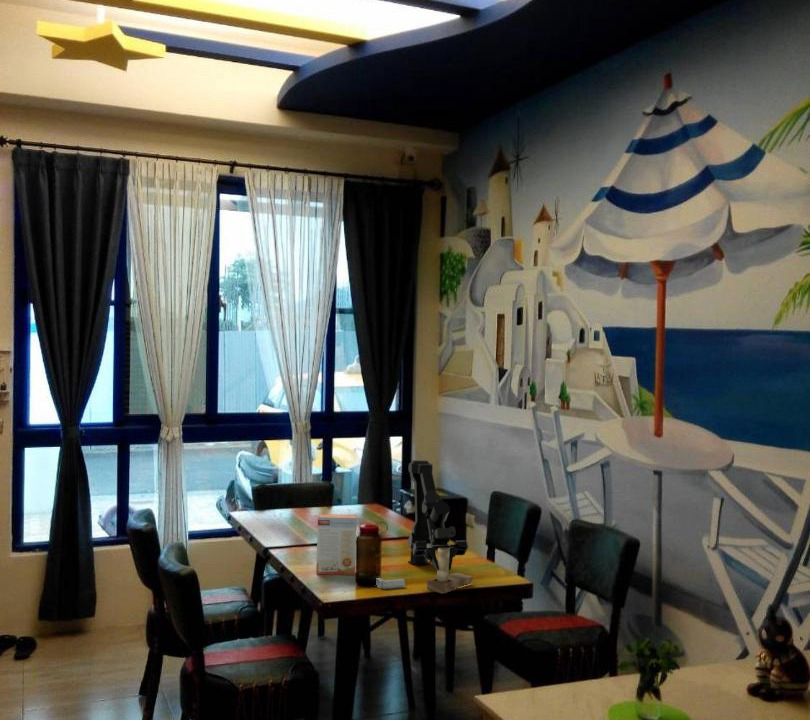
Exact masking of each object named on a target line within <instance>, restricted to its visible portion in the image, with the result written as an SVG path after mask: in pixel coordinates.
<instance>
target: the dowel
mask: <svg viewBox="0 0 810 720" xmlns="http://www.w3.org/2000/svg"><path fill="white" fill-rule="evenodd" d="M449 551H450V549H449V548H445V547H441V548H438V551H437V562H438V567H439V570H438V571H437V570H436V578H437V582H440V583H447V582H448V575H449V571H450V570H449Z"/></svg>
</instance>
